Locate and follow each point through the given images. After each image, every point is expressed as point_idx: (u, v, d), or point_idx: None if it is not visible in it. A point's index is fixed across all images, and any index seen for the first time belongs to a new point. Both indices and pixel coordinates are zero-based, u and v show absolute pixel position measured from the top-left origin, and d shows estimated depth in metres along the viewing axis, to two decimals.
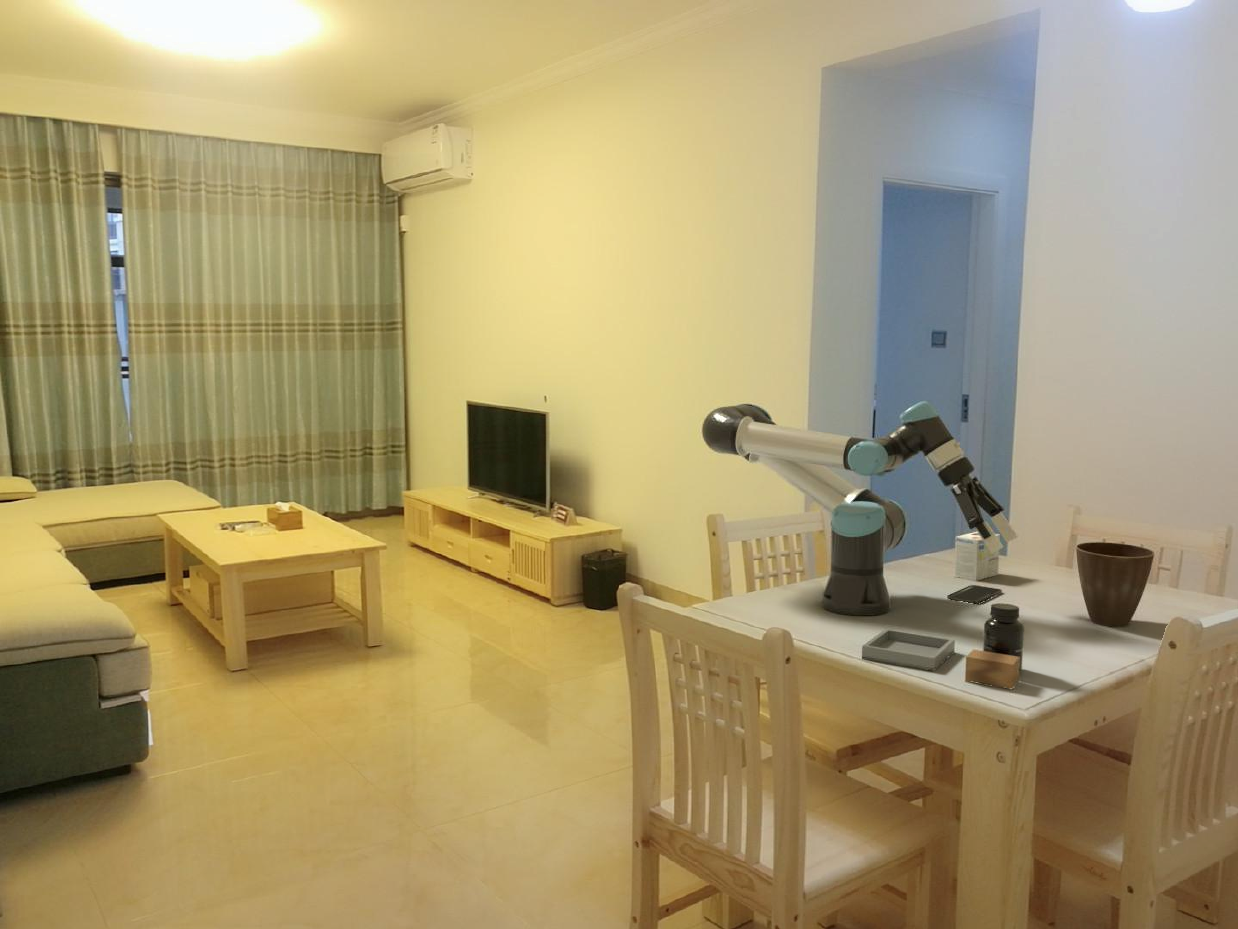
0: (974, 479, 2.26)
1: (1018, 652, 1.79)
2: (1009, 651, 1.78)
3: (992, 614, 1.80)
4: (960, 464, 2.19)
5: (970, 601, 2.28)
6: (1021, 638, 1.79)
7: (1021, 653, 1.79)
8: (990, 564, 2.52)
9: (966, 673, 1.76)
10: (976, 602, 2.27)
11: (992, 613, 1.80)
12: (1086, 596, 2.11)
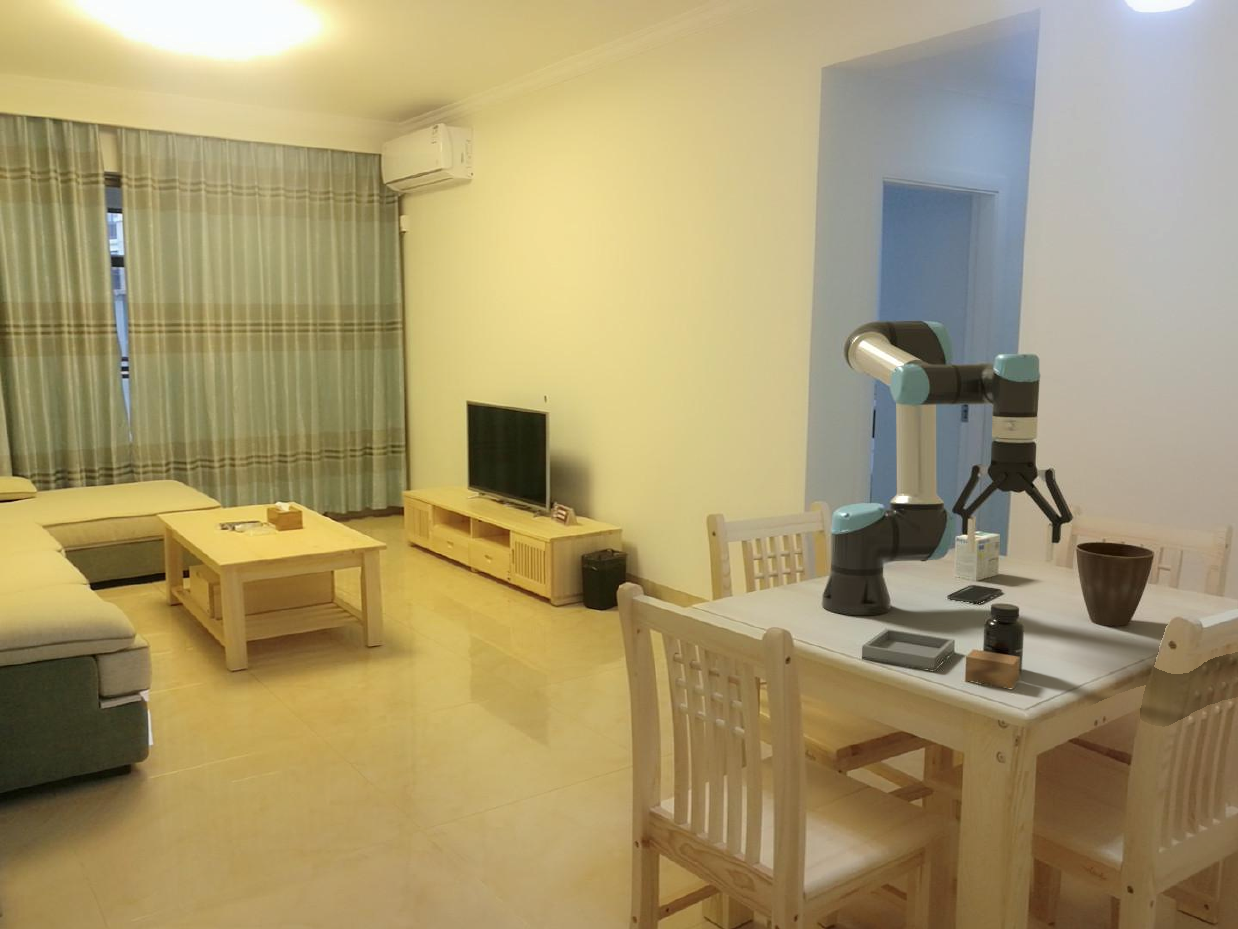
0: None
1: (1019, 652, 1.79)
2: (1009, 651, 1.78)
3: (992, 614, 1.80)
4: (994, 448, 1.77)
5: (970, 601, 2.28)
6: (1021, 638, 1.79)
7: (1021, 653, 1.79)
8: (990, 564, 2.52)
9: (966, 673, 1.76)
10: (976, 602, 2.27)
11: (992, 613, 1.80)
12: (1086, 596, 2.11)
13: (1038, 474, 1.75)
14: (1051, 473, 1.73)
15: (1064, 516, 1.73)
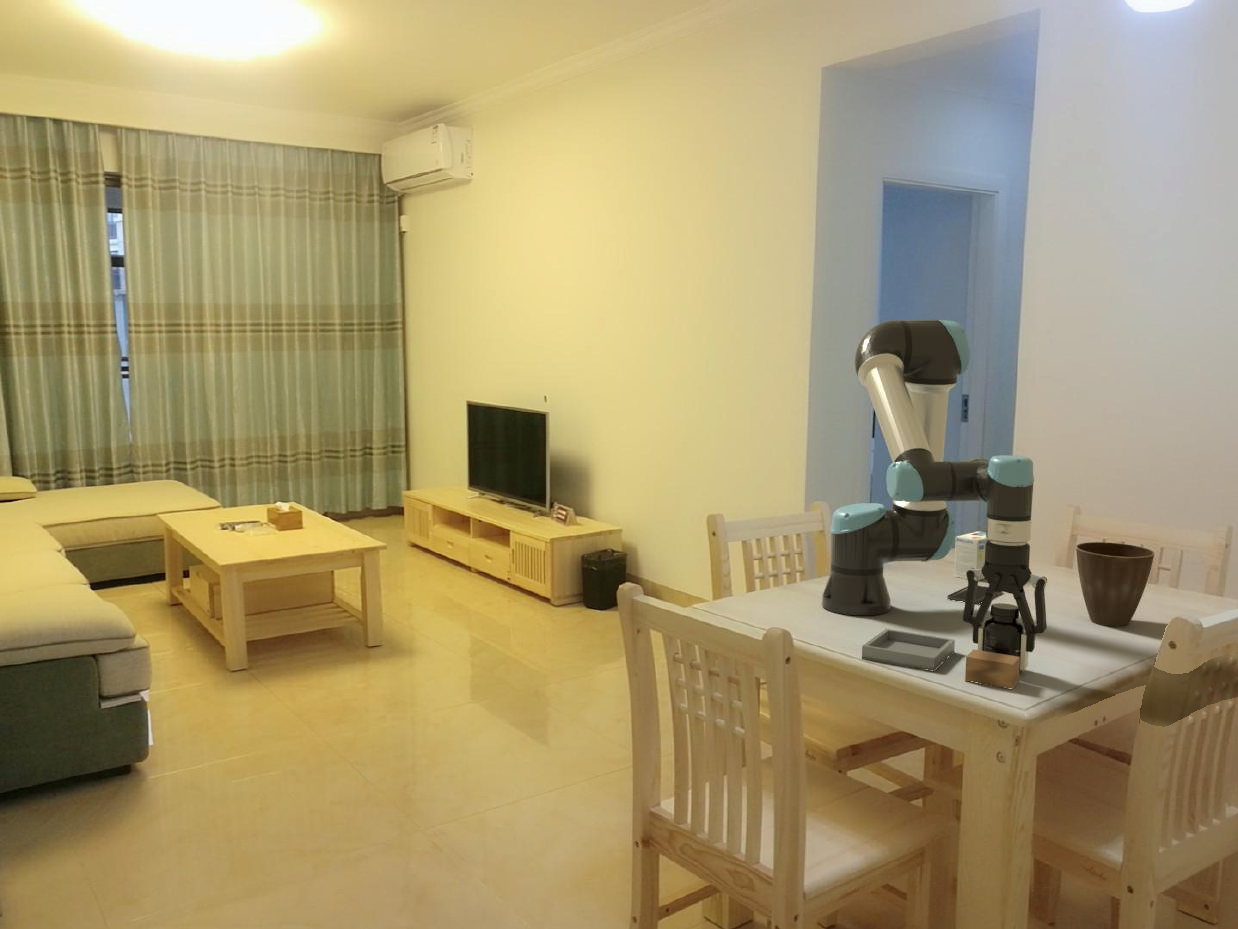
0: (1037, 581, 1.76)
1: (1019, 652, 1.79)
2: (1009, 651, 1.78)
3: (992, 614, 1.80)
4: (988, 550, 1.78)
5: None
6: None
7: None
8: None
9: (966, 673, 1.76)
10: (976, 602, 2.27)
11: (992, 613, 1.80)
12: (1086, 596, 2.11)
13: (1031, 576, 1.77)
14: (1043, 584, 1.75)
15: (1039, 626, 1.76)
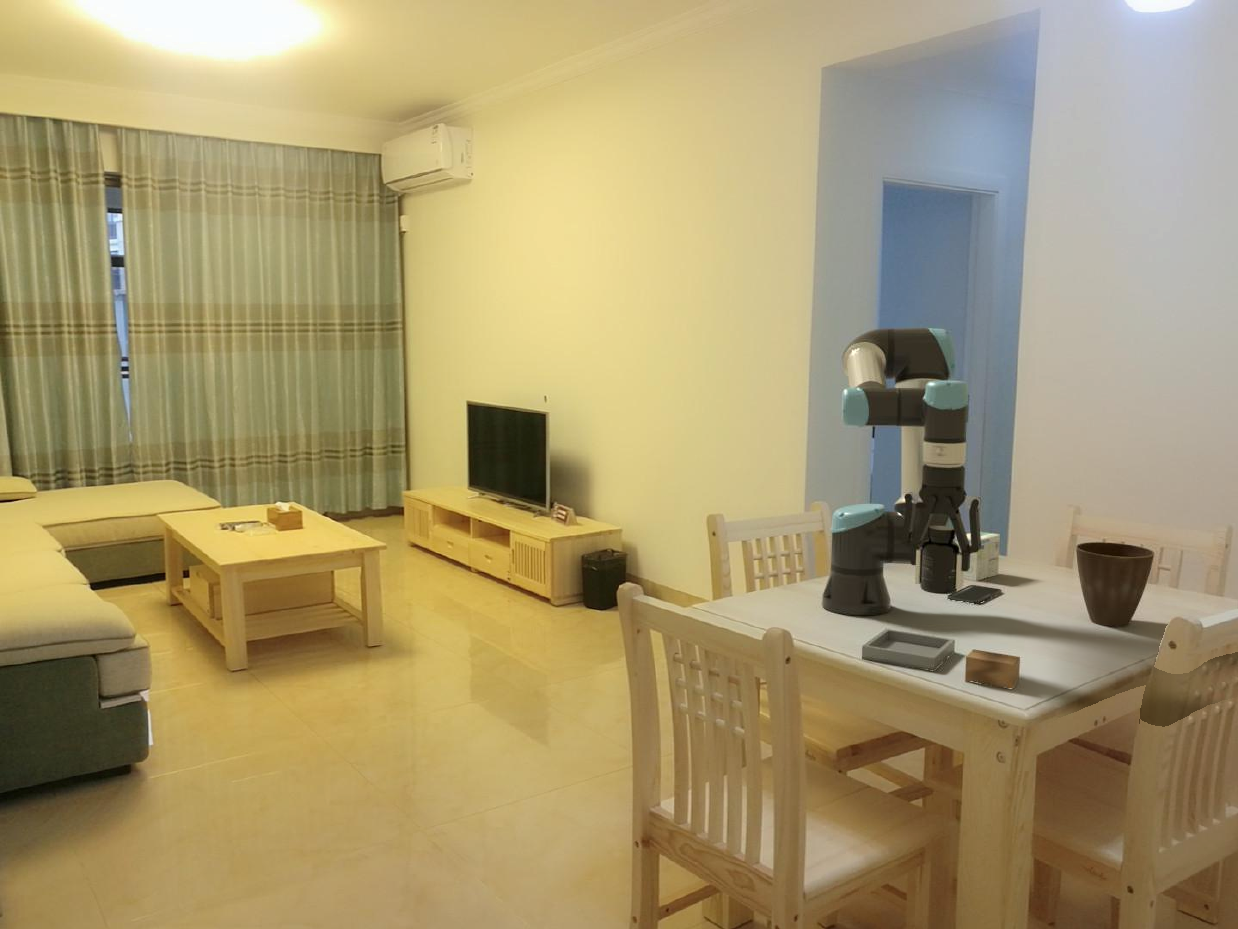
0: (972, 501, 1.81)
1: (954, 572, 1.83)
2: (945, 570, 1.83)
3: (929, 535, 1.85)
4: (925, 472, 1.83)
5: (970, 601, 2.28)
6: None
7: None
8: (990, 564, 2.52)
9: (966, 673, 1.76)
10: (976, 602, 2.27)
11: (929, 534, 1.85)
12: (1086, 596, 2.11)
13: (966, 497, 1.82)
14: (977, 504, 1.80)
15: (973, 546, 1.81)
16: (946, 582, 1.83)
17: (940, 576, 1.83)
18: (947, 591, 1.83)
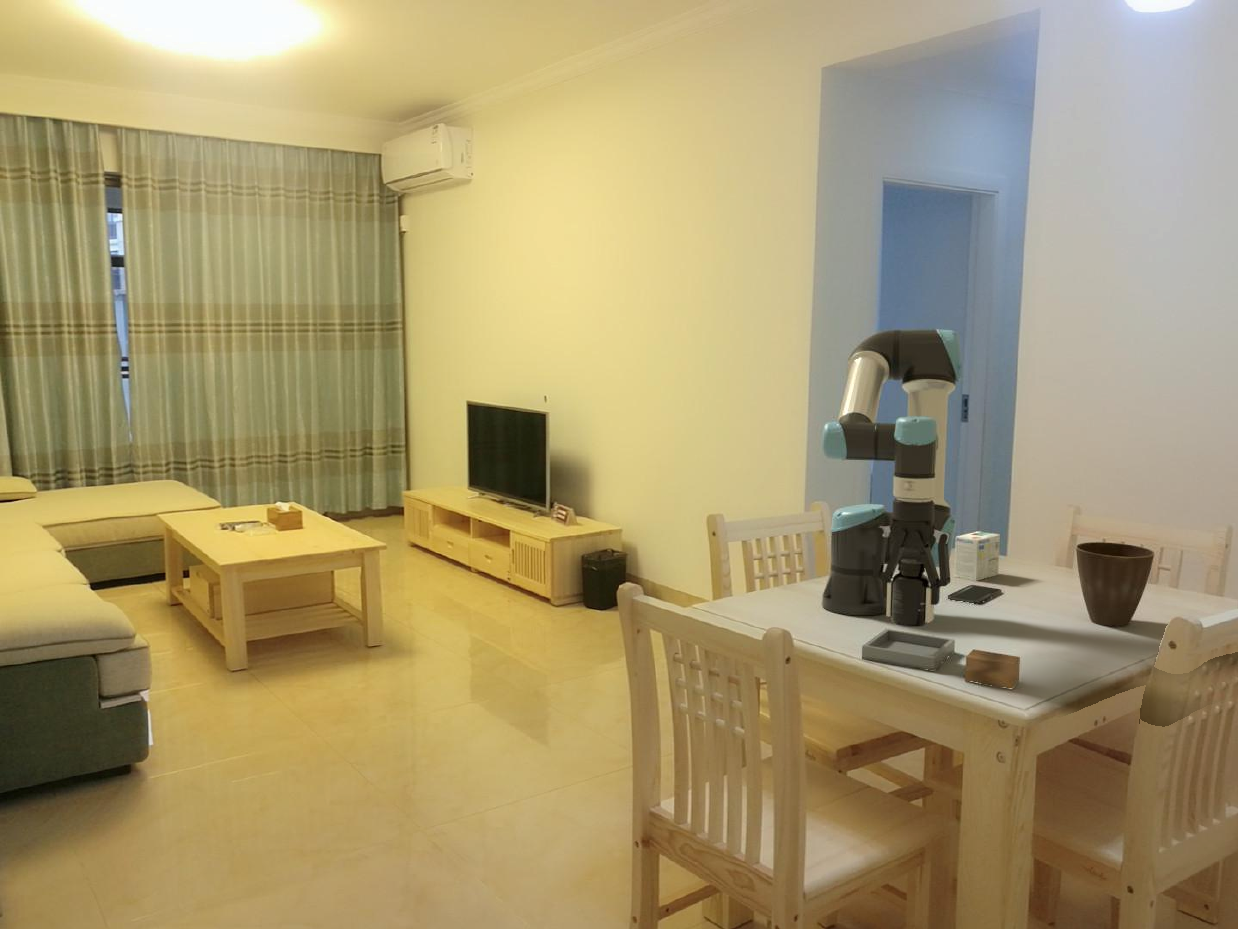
0: (941, 535, 1.84)
1: (924, 605, 1.86)
2: (914, 603, 1.86)
3: (899, 569, 1.88)
4: (894, 507, 1.86)
5: (971, 601, 2.28)
6: None
7: None
8: (990, 564, 2.52)
9: (966, 673, 1.76)
10: (977, 602, 2.27)
11: (899, 568, 1.88)
12: (1086, 596, 2.11)
13: (935, 532, 1.85)
14: (945, 538, 1.83)
15: (942, 579, 1.84)
16: (915, 615, 1.86)
17: (909, 609, 1.86)
18: (916, 624, 1.86)
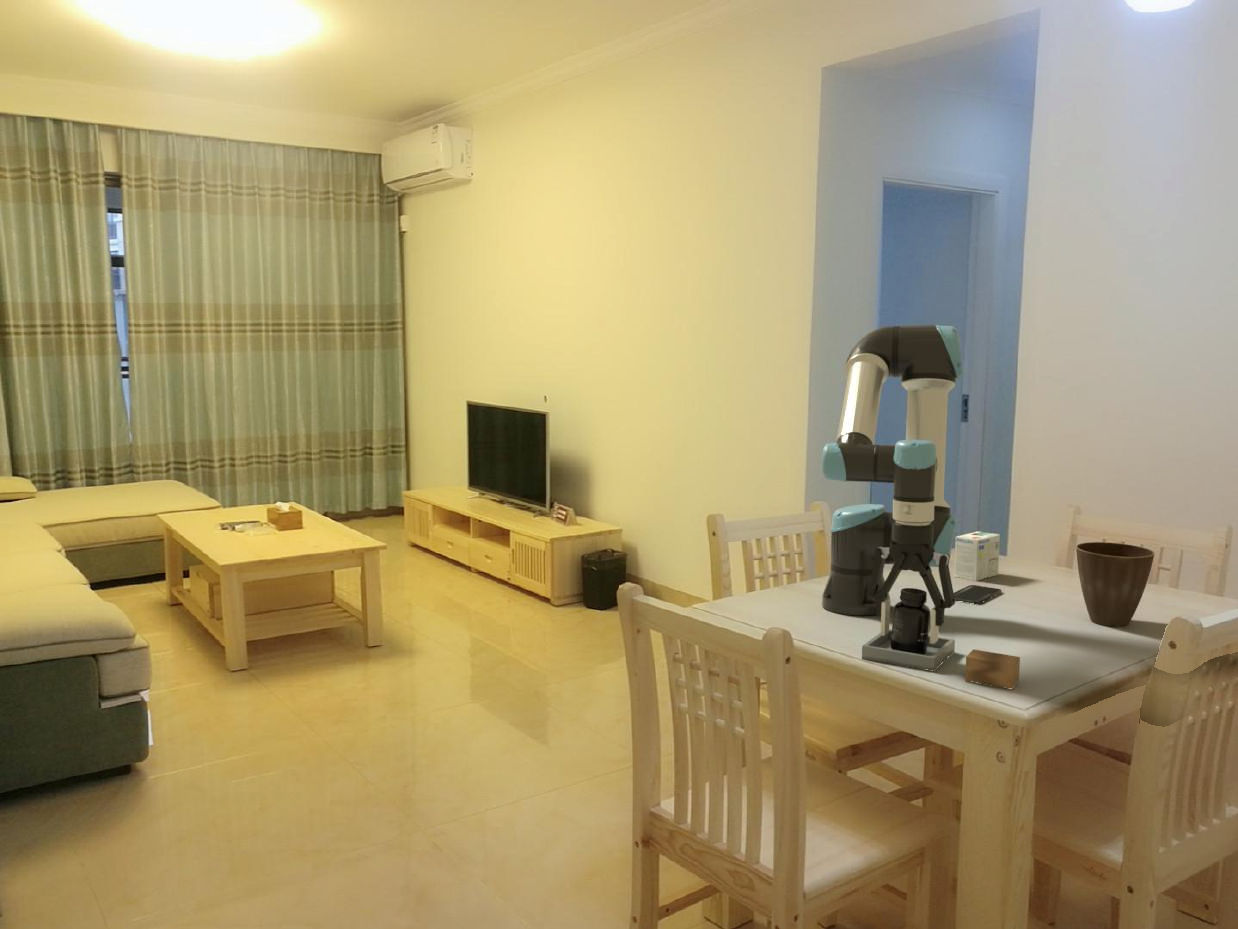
0: None
1: (924, 635, 1.87)
2: (914, 634, 1.86)
3: (901, 598, 1.88)
4: (894, 530, 1.87)
5: (971, 601, 2.28)
6: (927, 622, 1.87)
7: (926, 636, 1.88)
8: (990, 564, 2.52)
9: (966, 673, 1.76)
10: (977, 602, 2.27)
11: (901, 597, 1.89)
12: (1086, 596, 2.11)
13: (934, 555, 1.85)
14: (945, 560, 1.83)
15: (946, 601, 1.84)
16: (915, 645, 1.87)
17: (909, 639, 1.87)
18: None
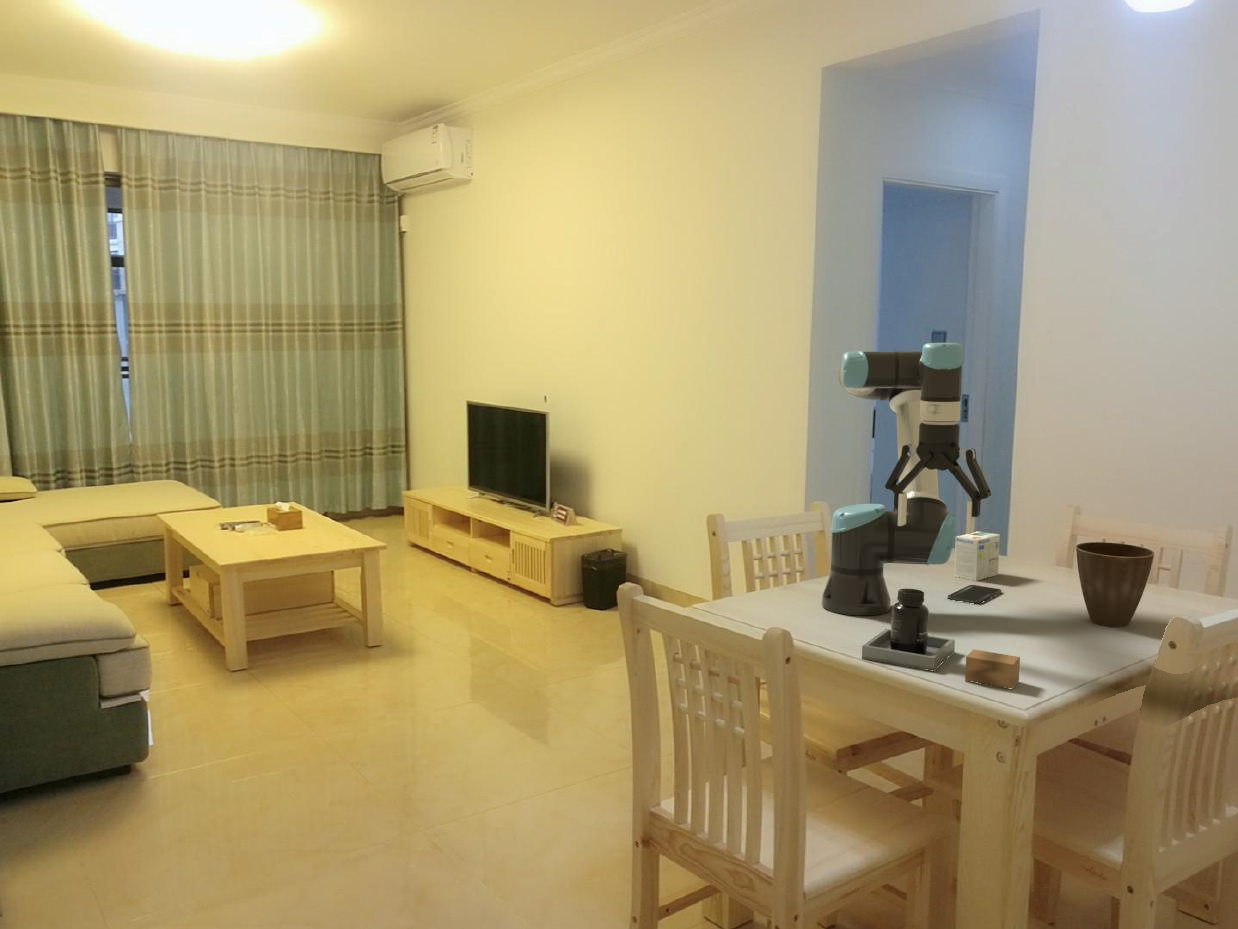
0: None
1: (923, 635, 1.87)
2: (913, 633, 1.86)
3: (898, 598, 1.89)
4: (921, 430, 1.93)
5: (971, 601, 2.28)
6: (925, 621, 1.87)
7: (925, 636, 1.88)
8: (990, 564, 2.52)
9: (966, 673, 1.76)
10: (977, 602, 2.27)
11: (898, 597, 1.89)
12: (1086, 596, 2.11)
13: (960, 454, 1.91)
14: (971, 453, 1.89)
15: (982, 492, 1.89)
16: (914, 645, 1.87)
17: (908, 639, 1.87)
18: None
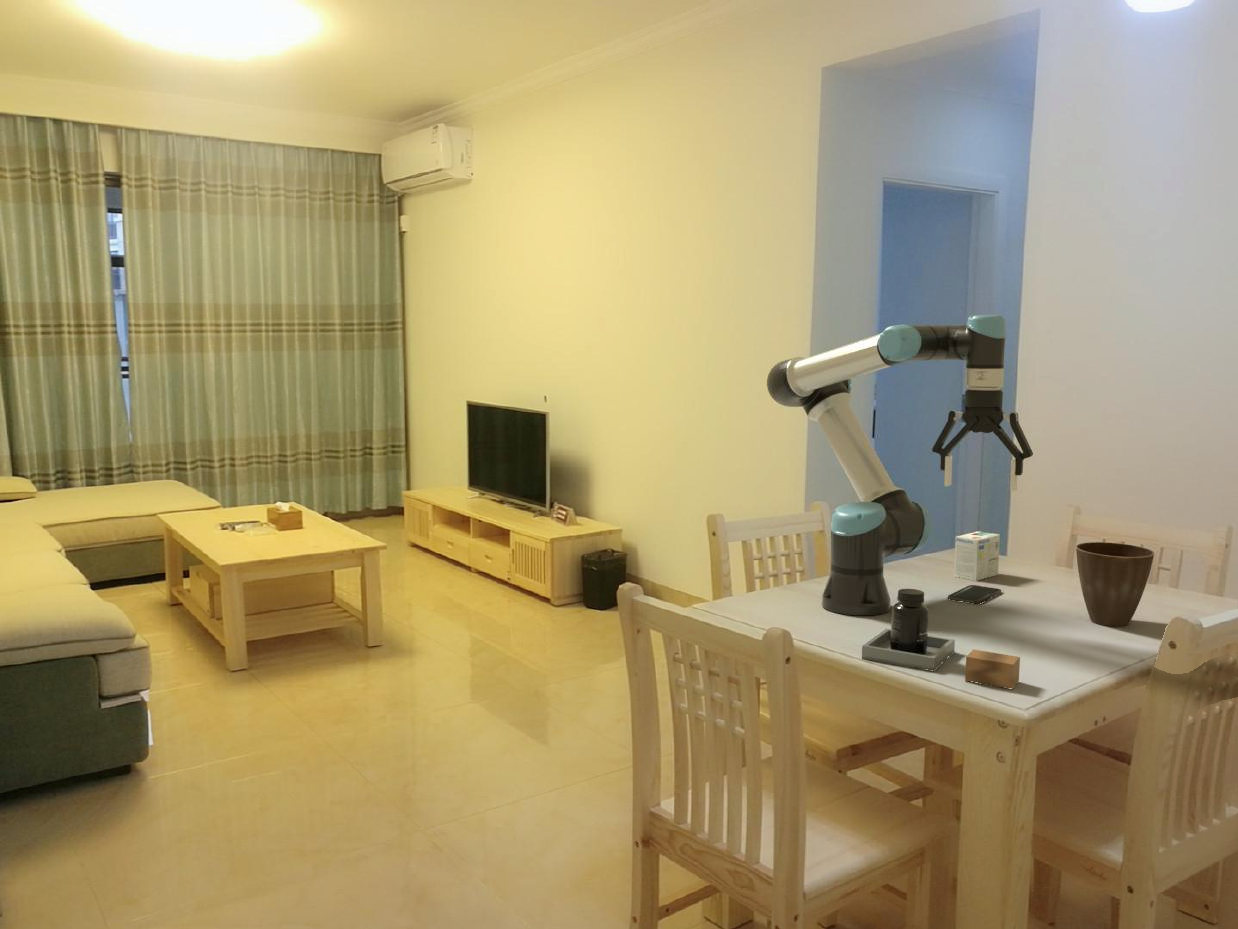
0: (1009, 415, 2.06)
1: (922, 635, 1.87)
2: (913, 634, 1.86)
3: (898, 599, 1.89)
4: (967, 395, 2.09)
5: (971, 601, 2.28)
6: (925, 622, 1.87)
7: (925, 636, 1.88)
8: (990, 564, 2.52)
9: (966, 673, 1.76)
10: (977, 602, 2.27)
11: (898, 598, 1.89)
12: (1086, 596, 2.11)
13: (1004, 417, 2.07)
14: (1014, 416, 2.05)
15: (1025, 452, 2.05)
16: (914, 645, 1.87)
17: (907, 639, 1.87)
18: None
